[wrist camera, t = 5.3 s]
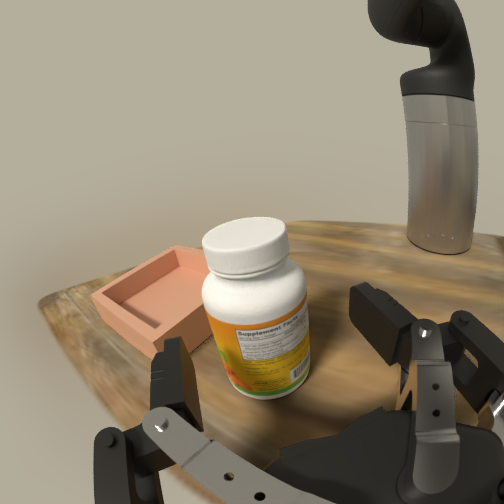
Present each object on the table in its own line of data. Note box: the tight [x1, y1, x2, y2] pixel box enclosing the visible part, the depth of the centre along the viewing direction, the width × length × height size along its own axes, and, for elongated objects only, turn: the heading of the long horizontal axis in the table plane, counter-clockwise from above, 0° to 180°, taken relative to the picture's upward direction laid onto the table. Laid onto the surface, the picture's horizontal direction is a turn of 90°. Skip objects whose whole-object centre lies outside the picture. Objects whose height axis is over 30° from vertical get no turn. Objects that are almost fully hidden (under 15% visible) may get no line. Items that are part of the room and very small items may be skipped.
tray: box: [90, 245, 213, 360], centre depth 24 cm, size 12×12×3 cm
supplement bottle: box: [202, 217, 310, 399], centre depth 15 cm, size 5×5×10 cm
